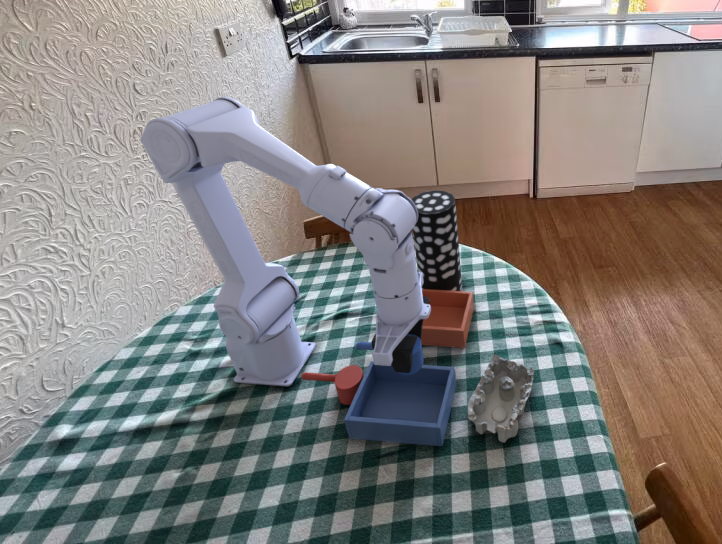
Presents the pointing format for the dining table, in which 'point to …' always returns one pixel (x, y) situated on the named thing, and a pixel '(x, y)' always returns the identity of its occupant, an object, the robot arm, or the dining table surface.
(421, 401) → the blue bin
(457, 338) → the red bin
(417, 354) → the blue cylinder with handle
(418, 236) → the black white spotted cylinder
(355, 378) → the red ladle-shaped piece
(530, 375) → the egg carton
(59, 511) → the dining table surface
